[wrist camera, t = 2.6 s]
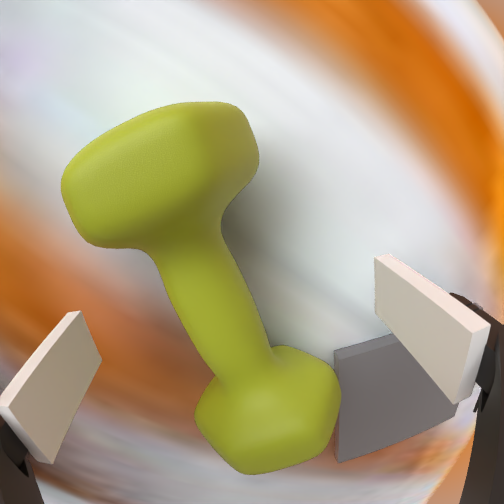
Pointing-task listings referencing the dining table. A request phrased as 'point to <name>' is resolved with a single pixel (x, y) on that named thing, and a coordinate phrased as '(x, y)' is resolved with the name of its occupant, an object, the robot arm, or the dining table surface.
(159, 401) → the dining table surface
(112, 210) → the dumbbell
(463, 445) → the dining table surface
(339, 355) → the trivet
